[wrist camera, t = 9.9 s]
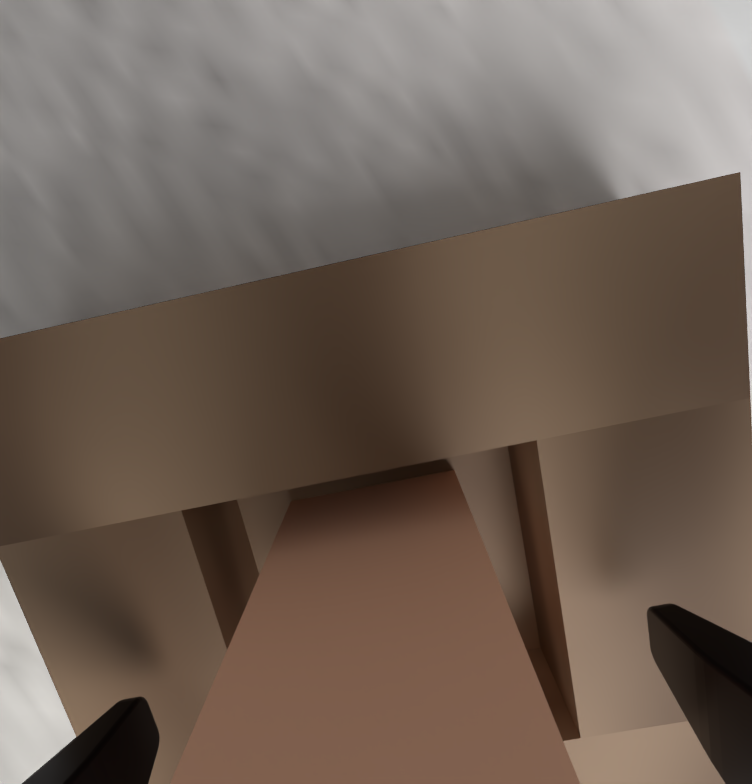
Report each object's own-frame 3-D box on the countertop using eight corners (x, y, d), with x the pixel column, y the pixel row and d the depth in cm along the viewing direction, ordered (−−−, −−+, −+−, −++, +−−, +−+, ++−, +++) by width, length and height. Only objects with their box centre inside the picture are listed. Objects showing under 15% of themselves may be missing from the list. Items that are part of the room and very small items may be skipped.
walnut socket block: (213, 780, 14) (161, 933, 11) (52, 337, 11) (-87, 357, 8) (672, 706, 14) (769, 846, 10) (625, 209, 11) (740, 172, 7)
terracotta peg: (328, 640, 12) (187, 1574, 3) (290, 501, 11) (-32, 1257, 2) (480, 614, 12) (764, 1543, 3) (454, 470, 11) (738, 1176, 2)
